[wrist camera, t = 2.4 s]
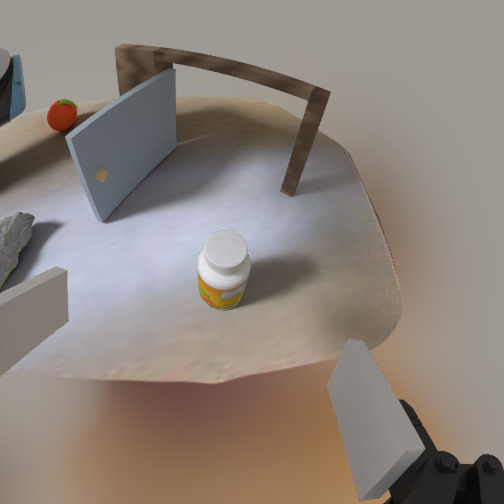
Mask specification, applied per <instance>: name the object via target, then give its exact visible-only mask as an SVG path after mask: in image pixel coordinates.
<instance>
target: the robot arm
mask: <svg viewBox="0 0 504 504" xmlns="http://www.w3.org/2000/svg"><path fill="white" fill-rule="evenodd" d="M25 107H26V97H25V88H24V80H23V71H22V63H21V57H20V55H13V56H12V57H10V55H9V53H8V51H7V50H6V49H3V48H0V127H1V126H3V125H4V124H6V123H8V122H10V121H11V120H12V119H14V118H15V117H17V116H18V115H20V114H21V113H22V112H23V111H24V110H25ZM68 321H69V319H68V294H67V270H64V269H62V268H59V267H54V268H52V269H50V270H47V271H45V272H43V273H41V274H39V275H37V276H34V277H32V278H30V279H28V280H26V281H24V282H22V283H20V284H18V285H16V286H13V287H11V288H9V289H7V290H5V291H3V292H1V293H0V377H1V376H2V375H3V374H4V373H5V372H6V371H8V370H9V369H10V368H11V367H12V366H14V365H15V364H16V363H17V362H18V361H20V360H21V359H22V358H23V357H24V356H26V355H27V354H28V353H29V352H30V351H32V350H33V349H34V348H35V347H37V346H38V345H39V344H40V343H42V342H43V341H44V340H45V339H47V338H48V337H49V336H50V335H52V334H53V333H54V332H55V331H57V330H58V329H59V328H61V327H62V326H63V325H64V324H66V323H67V322H68ZM327 388H328V392H329V395H330V398H331V401H332V405H333V408H334V412H335V415H336V419H337V422H338V425H339V429H340V432H341V436H342V439H343V443H344V446H345V450H346V453H347V457H348V461H349V464H350V468H351V472H352V475H353V479H354V483H355V487H356V490H357V494H358V498H359V501H362V500H371V499H378V498H380V497H381V496H382V495H383V494H384V493H385V492H386V491H387V490H388V489H389V491H390V494H391V497H390V498H389V499H388V500H387V501H386V502H385V503H383V504H504V470H503V466H502V464H501V462H500V461H499V460H498V458H496V457H495V456H493V455H489V454H483V455H482V456H480V457H479V458H478V459H477V460H476V461H475V463H474V464H460V463H459V461H458V459H457V458H456V457H455V456H454V455H452V454H450V453H448V452H445V451H437V449H436V447H435V445H434V443H433V442H432V440H431V438H430V437H429V435H428V433H427V431H426V430H425V428H424V427H423V426H422V423H421V421H420V419H418V416H417V414H416V413H415V411H414V409H413V408H412V407H411V406H410V405H409V404H408V403H407V402H405V401H404V400H398V398H397V397H396V395H395V393H394V392H393V390H392V388H391V387H390V385H389V383H388V381H387V380H386V378H385V376H384V375H383V373H382V371H381V370H380V368H379V366H378V365H377V363H376V361H375V360H374V358H373V356H372V355H371V353H370V352H369V350H368V348H367V347H366V345H365V343H364V342H363V340H358V339H351V338H347V340H346V343H345V345H344V348H343V350H342V353H341V355H340V358H339V360H338V362H337V365H336V367H335V370H334V372H333V374H332V376H331V378H330V381H329V383H328V385H327Z"/></svg>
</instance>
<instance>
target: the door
mask: <svg viewBox="0 0 504 504" xmlns="http://www.w3.org/2000/svg"><path fill="white" fill-rule="evenodd" d="M175 88H176V87H175V69H171V68H168V69H166V70H164V71H163V72H161V73H159V74H157V75H155V76H153V77H152V78H150V79H148V80H146V81H145V82H143V83H141V84H140V85H138V86H136V87H135V88H133V89H131V90H130V91H128V92H126V93H125V94H123V95H122V96H120V97H119V98H117V99H115V100H114V101H112V102H111V103H109V104H108V105H107V106H105V107H104V108H102V109H101V110H99V111H98V112H97V113H95V114H94V115H92V116H91V117H90V118H88V119H87V120H86V121H84V122H83V123H82V124H80V125H79V126H78V127H76V128H75V129H74V130H73V131H71V132H70V133H69V134H68V135H66V136H65V138H66V141H67V144H68V147H69V150H70V153H71V156H72V159H73V161H74V164H75V167H76V169H77V172H78V175H79V177H80V180H81V183H82V185H83V188H84V190H85V193H86V195H87V197H88V200H89V202H90V205H91V207H92V209H93V212H94V214H95V216H96V218H97V220H98V221H100V222H102V223H103V222H104V221H105V220H106V219H107V217H108V216H109V215H110V214H111V213H112V212H113V211H114V210H115V208H116V207H117V206H118V205H119V204H120V203H121V202H122V201H123V200H124V199H125V198H126V197H127V195H128V194H129V193H130V192H131V191H132V190H133V189H134V188H135V187H136V186H137V185H138V184H139V183H140V182H141V181H142V180H143V179H144V178H145V177H146V176H147V175H148V174H149V173H150V172H151V171H152V170H153V169H154V168H155V167H156V166H157V165H158V164H159V163H160V162H161V161H162V160H163V159H164V158H165V157H166V156H168V155H169V154H170V153H171V152H172V151H173V150H174V149H175V148H176V147H177V133H176V91H175Z"/></svg>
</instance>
